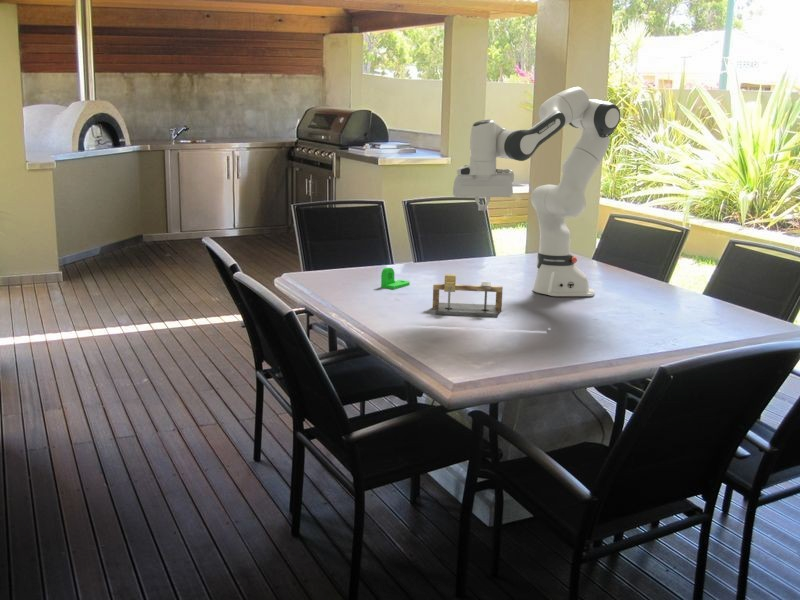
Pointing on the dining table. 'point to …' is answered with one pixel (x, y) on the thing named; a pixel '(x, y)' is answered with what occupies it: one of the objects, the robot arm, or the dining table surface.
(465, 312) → the bolt plate
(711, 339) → the dining table surface
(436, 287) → the wooden frame rack
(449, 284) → the slider leg
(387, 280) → the mechanical part
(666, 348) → the dining table surface
